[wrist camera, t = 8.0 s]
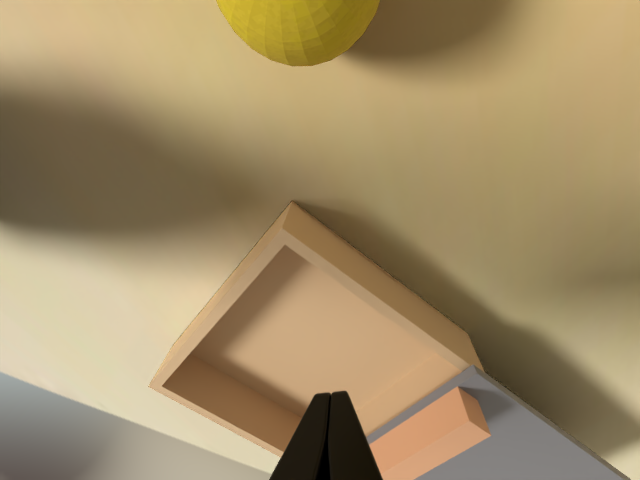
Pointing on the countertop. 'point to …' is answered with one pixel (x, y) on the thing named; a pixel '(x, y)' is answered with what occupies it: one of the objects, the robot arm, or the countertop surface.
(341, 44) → the lemon
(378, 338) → the box
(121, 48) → the countertop surface
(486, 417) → the lid
